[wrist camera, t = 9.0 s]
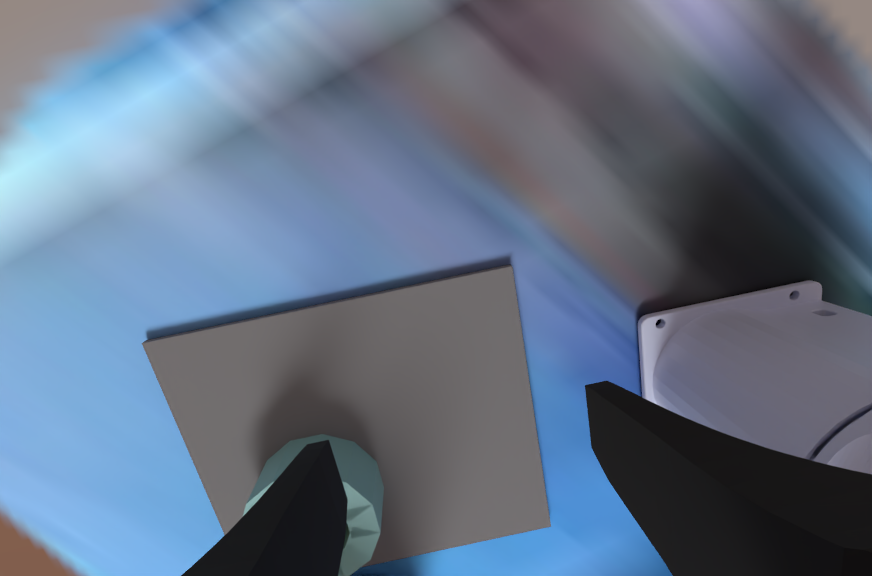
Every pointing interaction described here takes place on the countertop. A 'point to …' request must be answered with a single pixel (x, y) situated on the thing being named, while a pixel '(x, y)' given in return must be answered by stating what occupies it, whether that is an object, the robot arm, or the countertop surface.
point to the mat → (374, 405)
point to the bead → (359, 487)
